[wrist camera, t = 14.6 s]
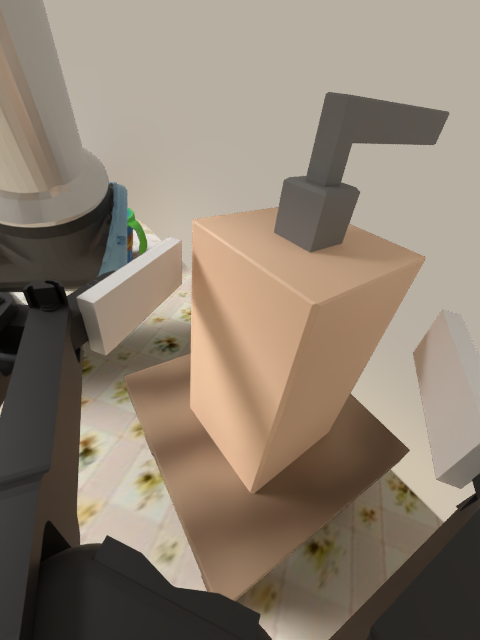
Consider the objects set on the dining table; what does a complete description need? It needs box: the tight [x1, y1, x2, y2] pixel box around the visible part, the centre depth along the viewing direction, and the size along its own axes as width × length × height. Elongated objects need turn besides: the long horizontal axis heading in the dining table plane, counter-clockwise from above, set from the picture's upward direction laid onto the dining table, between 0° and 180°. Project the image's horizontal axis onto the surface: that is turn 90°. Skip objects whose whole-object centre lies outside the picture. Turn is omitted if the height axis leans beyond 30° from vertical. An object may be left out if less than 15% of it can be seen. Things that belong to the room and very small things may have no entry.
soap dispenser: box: [190, 92, 449, 494], centre depth 19 cm, size 13×9×22 cm
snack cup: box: [127, 208, 147, 263], centre depth 59 cm, size 16×11×10 cm
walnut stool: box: [124, 353, 410, 601], centre depth 29 cm, size 18×18×10 cm
